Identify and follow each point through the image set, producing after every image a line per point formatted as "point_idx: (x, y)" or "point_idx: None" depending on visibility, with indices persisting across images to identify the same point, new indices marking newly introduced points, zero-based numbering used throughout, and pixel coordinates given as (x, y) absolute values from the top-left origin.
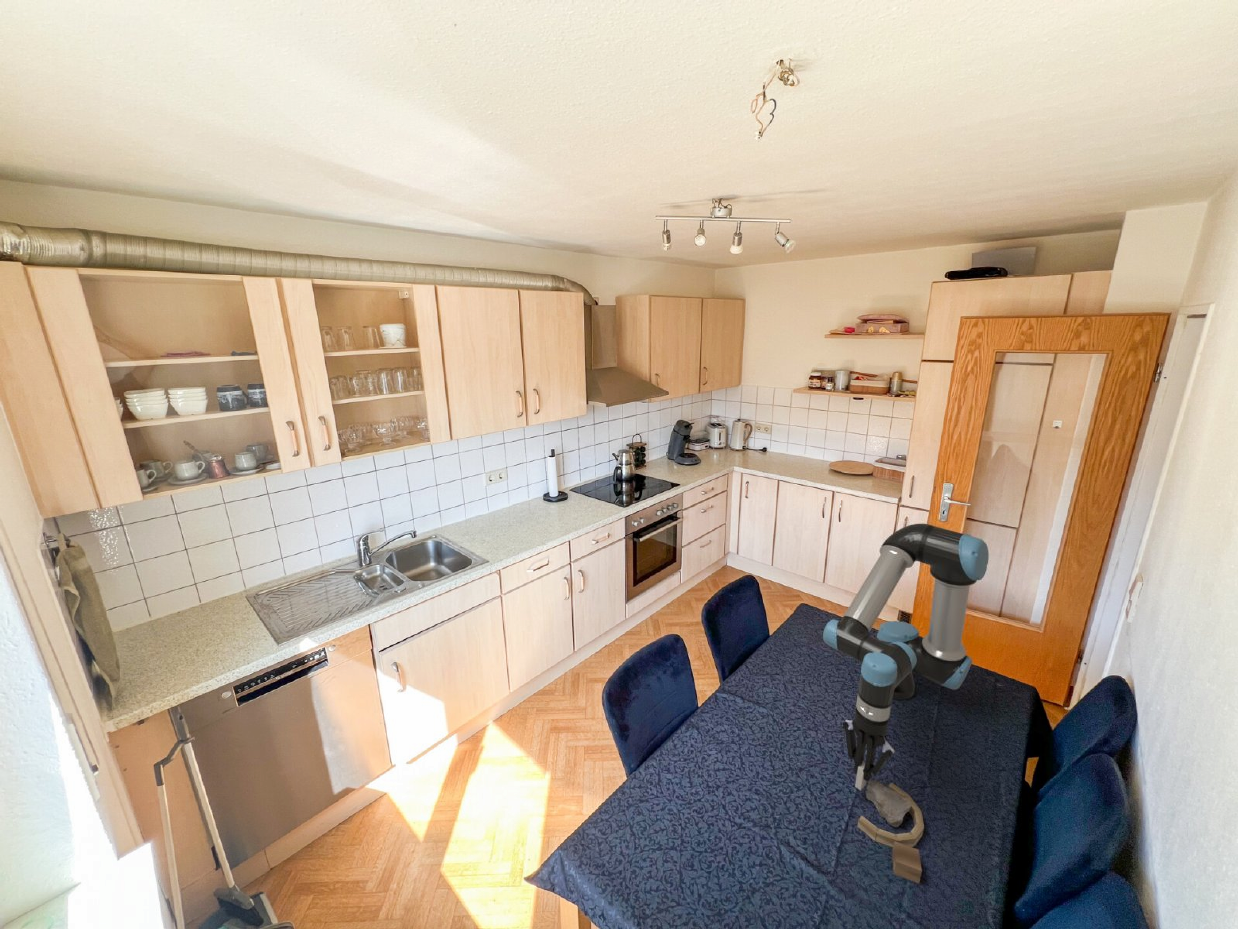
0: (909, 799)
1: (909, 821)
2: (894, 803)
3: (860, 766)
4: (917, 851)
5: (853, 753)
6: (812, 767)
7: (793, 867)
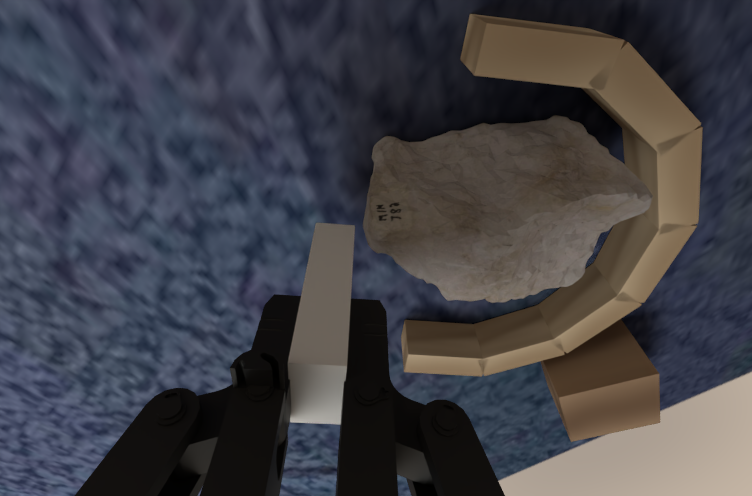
0: (629, 87)
1: None
2: (545, 255)
3: (299, 409)
4: (653, 380)
5: (181, 465)
6: (75, 221)
7: (325, 490)
